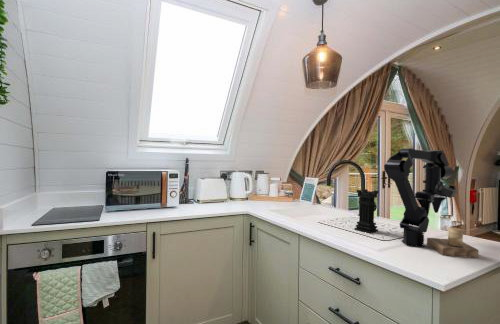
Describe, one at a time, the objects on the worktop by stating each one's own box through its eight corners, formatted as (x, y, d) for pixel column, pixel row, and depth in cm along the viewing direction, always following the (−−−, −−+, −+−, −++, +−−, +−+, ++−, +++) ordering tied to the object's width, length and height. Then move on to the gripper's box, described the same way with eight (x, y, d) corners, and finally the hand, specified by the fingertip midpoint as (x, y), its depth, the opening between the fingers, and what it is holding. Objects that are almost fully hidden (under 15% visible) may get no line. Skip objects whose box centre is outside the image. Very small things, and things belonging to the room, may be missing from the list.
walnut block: (442, 255, 101) (442, 247, 101) (426, 244, 113) (427, 237, 113) (478, 257, 99) (478, 249, 99) (458, 246, 111) (458, 239, 111)
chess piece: (369, 233, 127) (370, 192, 127) (354, 229, 134) (355, 190, 133) (378, 231, 132) (379, 190, 131) (363, 227, 138) (364, 189, 138)
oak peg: (451, 253, 101) (452, 230, 101) (445, 249, 106) (446, 227, 106) (464, 254, 101) (465, 231, 100) (457, 250, 105) (458, 227, 105)
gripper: (444, 181, 106) (443, 220, 106) (463, 179, 116) (461, 215, 116) (414, 178, 115) (413, 214, 115) (434, 177, 125) (433, 210, 126)
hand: (431, 213), depth 118 cm, fingers open, 9 cm apart
